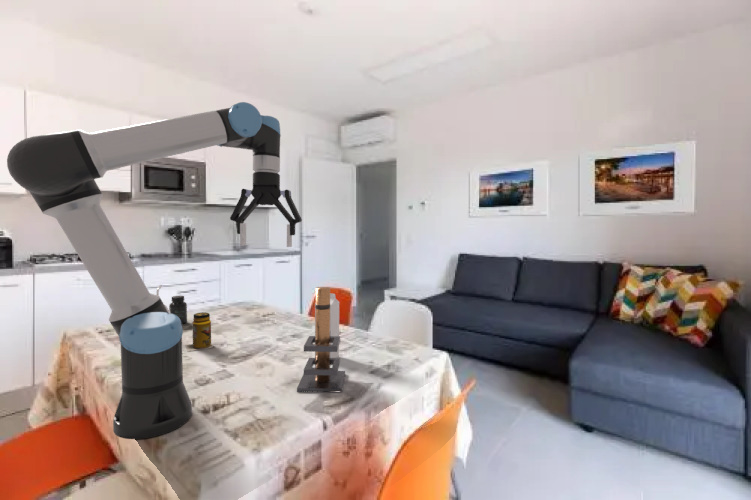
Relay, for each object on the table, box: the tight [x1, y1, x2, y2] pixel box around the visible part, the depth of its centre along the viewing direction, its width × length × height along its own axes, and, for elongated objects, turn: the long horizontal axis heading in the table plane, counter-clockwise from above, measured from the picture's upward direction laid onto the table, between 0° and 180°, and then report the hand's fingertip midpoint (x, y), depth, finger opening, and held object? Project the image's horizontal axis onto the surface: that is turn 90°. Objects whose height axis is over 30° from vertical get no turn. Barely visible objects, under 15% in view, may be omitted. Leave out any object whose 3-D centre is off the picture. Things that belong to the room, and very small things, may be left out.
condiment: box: [184, 311, 214, 352], centre depth 133 cm, size 7×8×12 cm
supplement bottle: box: [168, 295, 188, 326], centre depth 162 cm, size 7×7×12 cm
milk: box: [314, 292, 340, 358], centre depth 123 cm, size 6×6×22 cm
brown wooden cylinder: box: [314, 286, 331, 382], centre depth 104 cm, size 4×4×26 cm
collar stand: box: [296, 335, 346, 393], centre depth 104 cm, size 12×12×13 cm
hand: (266, 246), depth 108 cm, fingers open, 13 cm apart
